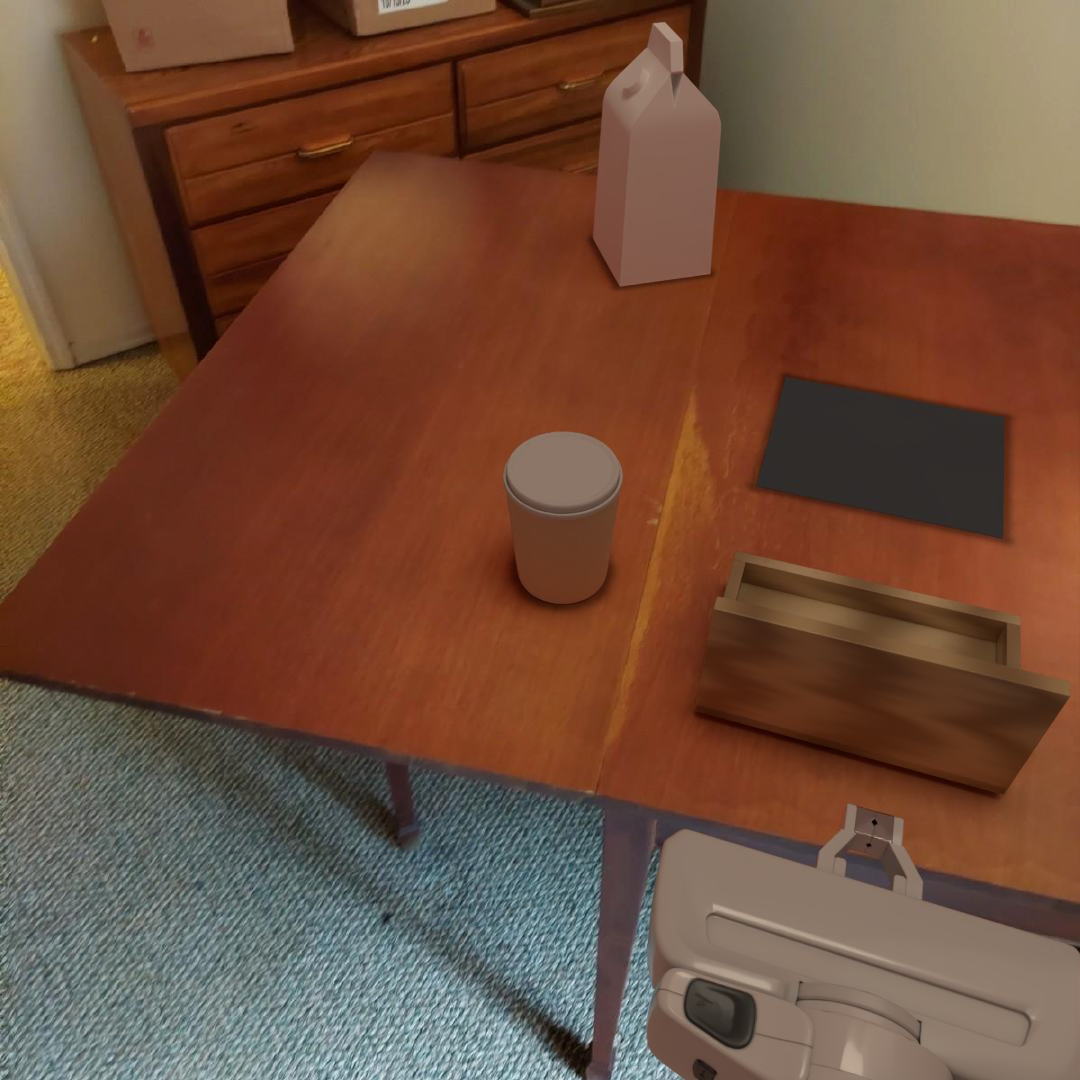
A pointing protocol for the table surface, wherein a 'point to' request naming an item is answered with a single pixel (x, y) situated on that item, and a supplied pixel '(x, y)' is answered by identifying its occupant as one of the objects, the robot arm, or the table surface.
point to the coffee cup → (562, 513)
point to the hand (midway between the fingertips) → (872, 815)
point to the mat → (888, 456)
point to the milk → (656, 169)
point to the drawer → (876, 672)
